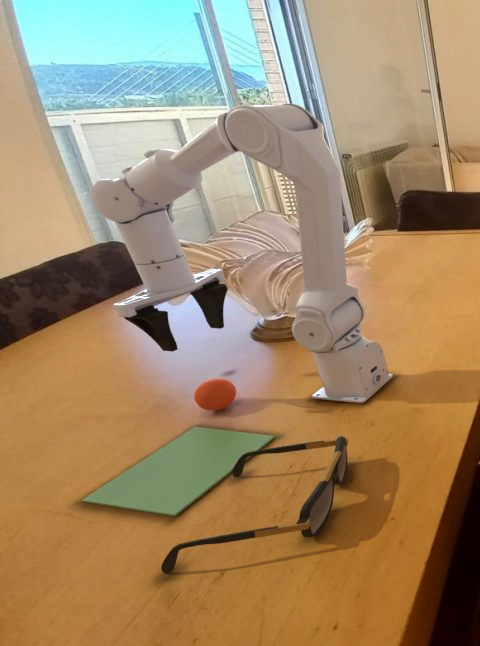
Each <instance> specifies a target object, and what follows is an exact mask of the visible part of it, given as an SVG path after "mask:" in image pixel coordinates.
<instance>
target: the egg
mask: <svg viewBox="0 0 480 646" xmlns="http://www.w3.org/2000/svg"><path fill="white" fill-rule="evenodd" d="M193 396H194V397H193V398H194V401H195V404H196V405H197V407H199V408H201V409H203V410H206V411H209V412H210V411H211V412H212V411H213V412H214V411H215V412H216V411H220V410H223V409H225V408H227V407H228V406H230V405H231V404H233V402H234V401H235V398H236V396H237V389H236V385H234V383H233V382H232V381H230V380H228V379H226V378H220V377H215V378H210V379H207V380H205V381H203V382H202V383H200V384H199V385H198V387H197V388H196V389H195V391H194V395H193Z"/></svg>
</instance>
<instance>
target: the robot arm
mask: <svg viewBox="0 0 480 646" xmlns="http://www.w3.org/2000/svg"><path fill="white" fill-rule="evenodd" d="M238 152H241V153H242V154H244V155H245V156H247V157H248V158H251V159H252V160H255V161H256V162H258V163H260V164H262V165H264V166H266V167H268V168H270V169H272V170H274V171H276V172H277V173H279V174H281V175H284V176H285V178H287V179H288V180H289V181H291V182H292V183H293V185H294V195H295V204H296V213H297V223H298V234H299V243H300V254H301V262H302V270H303V271H302V272H303V282H304V283H303V284H304V289H303V291H302V293H301V295H300V297H299V299H298V301H297V303H296V305H295V318H294V320H293V322H292V325H291V333H292V336H293V338H294V339H295V341H296V342H297V343H298V344H299V345H300V346H301V347H303V348H304V349H306V350H307V351H308V352H309V353H312V357H313V359H314V363H315V366H316V369H317V372H318V375H319V377H320V381H321V384H322V387H321V388H320V389H318V390H317V391H316V392H314V393H313V394H312V395H311V398H312V399H314V400H323V401H324V400H325V401H336V402H346V403H354V404H363V403H365V402H367V401H368V400H369V399H370V398H371V397H372V396H374V395H375V394H376V393H377V392H378V391H379V390H380V389H381V388H383V386H384V385H386V384H387V383H388V382H389V381H390V380H391V379H392V378H393V377H394V375H393V373H389V369H388V366H387V362H386V358H385V354H384V351H383V348H382V346H381V345H380V344H379V343H378V342H376V341H373V340H371V339H368V338H366V337H364V336H363V334H362V332H361V331H362V326H361V323H362V322H363V320H364V318H365V315H366V313H365V307H364V305H363V303H362V301H361V300H360V298H359V289H358V287H356V286H355V285H352V284H350V283H348V279H347V278H348V277H347V264H346V248H345V247H346V246H345V232H344V231H345V230H344V213H343V199H342V184H341V172H340V168H339V166H338V163H337V162H336V160H335V157H334V155H333V153H332V152H331V149H330V148H329V146H328V144H327V142H326V139H325V129H324V124H323V123H322V122H321V121H319V120H318V119H317V118H316V117H315V116H314V115H313V114H312V113H311V112H310V111H308V110H307V109H306V108H305V107H303V106H301V105H299V104H296V103H283V104H273V105H272V104H271V105H250V104H249V105H248V104H240V105H236V106H234V107H232V108H231V109H229V110H228V112H224V113H221V114H219V115H217V116H216V120H215V121H214V122H213V123H211V124H210V125H209V126H207V127H206V128H205V129H204V130H202V131H201V132H199V134H197V135H196V136H195V137H193V138H192V139H191V140H189V142H187V143H186V144H184V145H183V146H182V147H181V148H179V149H178V150H174V149H167V148H165V149H159V148H157V149H149V150H147V151H146V152H144V153H143V156H144V157H145V159H144V160H142V161H141V162H139V163H138V164H136V165H135V166H129V167H125V168H123V169H122V170H121V173H122V174H121V175H120V176H119V177H118V178H115V179H110V178H105V179H99V180H96V182H95V183H94V184H93V186H91V189H90V193H89V194H90V200H91V203H92V204H93V205H92V206H94V208H95V209H96V211H97V212H98V213H99V214H100V215H102V216H103V217H104V218H106V219H107V220H109V221H112V222H114V223H115V226H116V227H117V229H118V232H119V234H120V236H121V238H122V241H123V243H124V245H125V247H126V249H127V252H128V253H129V256H130V258H131V260H132V262H133V264H134V266H135V268H136V270H137V273H138V275H139V277H140V279H141V281H142V283H143V286H144V288H145V289H143V290H142V291H140V292H138V293H135V294H134V295H132V296H130V297H128V298H126V299H123V300H121V301H119V302H116V303H113V304H112V306H113V308H114V310H115V312H116V313H117V316H118V317H120V318H123V319H124V320H125V321H128V322H129V323H131V324H132V325H134V326H135V327H137V328H139V329H140V330H141V331H143V332H144V333H145V334H147V335H148V336H149V338H151V339H152V340H153V341H154V342H155V343H156V344H157V346H159V348H160V349H161V350H162V351H163V352H175V351H178V350H179V347H178V344H177V341H176V339H175V337H174V335H173V333H172V330H171V326H170V323H169V321H170V320H169V312H168V311H167V310H159V308H158V307H156V306H158V305H161V304H164V303H166V302H169V301H172V300H175V299H177V298H180V297H182V296H184V295H187V294H190V295H191V296H192V298H193V299H194V301H196V303H197V305H198V307H199V309H201V311H202V314H203V316H204V318H205V320H206V323H207V324H208V326H209V327H210V329H218V330H221V329H223V328H224V327H225V320H224V307H225V305H224V304H225V299H226V296H227V293H228V290H229V288H228V286H227V284H225V283H223V282H225V281H226V278H225V275H224V272H223V270H222V269H213V268H212V269H209V270H206V271H202V272H198V273H195V274H194V273H193V271H192V268H191V266H190V263H189V262H188V258H187V256H186V254H185V251H184V250H183V247H182V244H181V242H180V239H179V238H178V235H177V232H176V230H175V227H174V225H173V223H174V220H175V218H174V215H173V206H174V202H175V201H176V200H178V199H180V198H182V197H183V196H185V195H186V194H187V193H189V192H191V191H192V190H194V189H195V188H197V187H198V186H200V185H201V183H202V181H203V172H204V171H205V170H206V169H209V168H210V167H212V166H214V165H215V164H216V165H217V163H220V162H221V161H223V160H225V159H226V158H229V157H230V156H231V155H234V154H235V153H238ZM155 307H156V308H155Z"/></svg>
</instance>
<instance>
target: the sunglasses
mask: <svg viewBox="0 0 480 646" xmlns="http://www.w3.org/2000/svg"><path fill="white" fill-rule="evenodd" d="M348 444H349V437H346V436H343V435H340V436H337V438H333V439H327V440H326V439H325V440H318V441H310V442H303V443H302V442H301V443H295V444H288V445H282V446H277V447H271V448H270V447H269V448H264V449H263V448H262V449H260V450H257V451H252V452H247V453H245V454H243V455H242V456H241V457H240V458H239V460H238V461H237V463H236V464H235V466H234V468H233V470H232V472H231V474H232V476H233V477H234V478H239V477H241V475H242V474H243V472H244V468H245V464H246V461H247V460H246V458H247V457H249V456H251V457H254V456H259V455H267V454H269V455H270V454H283V453H291V452H299V451H305V450H306V451H307V450H313V449H314V450H315V449H321V448H328V447H334V451H333V455H332V456H331V459H330V461H329V462H328V464H327V466H326V468H325V471H324V473H323V475H322V477H321V479H320V481H319V482H318V483H317V485H316V486H315V488H314V489H313V491H312V492H311V493H310V495H309V496H308V498H307V499H306V500H305V502H304V503H303V505H302V507H301V508H300V511H299V516H298V520H297V521H296V522H295V523H289V524H288V523H287V524H282V525H275V526H269V527H263V528H256V529H251V530H246V531H245V530H244V531H239V532H234V533H233V532H232V533H227V534H223V535H222V534H221V535H217V536H212V537H206V538H200V539H196V540H191V541H186V542H182V543H178V544H176V545H174V546H173V547H172V548H171V549H170V550H169V552H168V553H167V555H166V556H165V557H164V560H163V562H162V564H161V567H160V569H161V572H162V573H163V574H165V575H169V574H171V573H173V571H174V570H175V567H176V564H177V559H178V555H179V552H180V551H181V550H183V549H187V548H192V547H193V548H194V547H198V546H205V545H206V546H207V545H218V544H227V543H233V542H238V541H244V540H249V539H257V538H264V537H268V536H269V537H270V536H275V535H276V536H277V535H282V534H287V533H294V532H298V531H300V532H301V535H302V537H303V538H314V537H315V536H318V534H319V533H320V532H321V530H323V528H324V526H325V524H326V523H327V521H328V519H329V517H330V514H331V512H332V508H333V504H334V496H335V487H336V486H337V485H343V484H344V482H345V480H346V476H347V471H348V449H347V446H348ZM245 460H246V461H245Z"/></svg>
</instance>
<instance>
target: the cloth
mask: <svg viewBox="0 0 480 646" xmlns="http://www.w3.org/2000/svg"><path fill="white" fill-rule="evenodd" d="M275 438H276V436H275V435H268V434H261V433H253V432H252V433H251V432H244V431H234V430H226V429H219V428H218V429H217V428H210V427H209V428H208V427H200V426H194V427H192V428H190V429H189V430H187V431H186V432H184V433H183V434H181V435H179V436H178V437H177V438H175V439H173V440H172V441H170V442H169V443H167V444H166V445H164V446H163V447H161V448H159V449H158V450H156V451H155V452H153V453H152V454H151V455H149V456H147V457H146V458H144V459H142V460H141V461H139V462H138V463H137V464H135V465H133V466H132V467H130V468H128V469H127V470H125V471H124V472H122V473H120V474H119V475H118V476H116V477H115V478H113V479H111V480H110V481H109V482H107V483H106V484H104V485H102V486H100V487H99V488H98V489H96V490H94V491H93V492H92V493H90V494H89V495H87V496H86V497H84V498H82V499H81V502H82V503H87V504H93V505H99V506H106V507H113V508H120V509H125V510H131V511H139V512H142V513H143V512H144V513H149V514H150V513H151V514H157V515H163V516H170V517H177V516H178V515H180V514H181V513H182V512H183V511H184V510H186V509H187V508H189V506H191V505H192V504H194V503H195V502H196V501H197V500H198V499H199V498H200V497H202V496H204V495H205V494H206V493H207V492H208V491H210V490H211V489H212V488H214V487H215V486H216V485H218V484H219V483H220V482H221V481H222V480H224V479H226V477H228V476H229V475H230V474H232V470H233V468H234V466H235V464H236V463H237V461H238V460H239V458H240V457H241V456H242V455H243V454H245V453H247V452H252V451H257V450H262V449H263V448H264V447H265V446H266V445H268V444H269V443H270V442H272V441H273V440H274V439H275ZM251 457H252V456H249V457H247V458H246V460H245V462H246V461H248V460H249V459H250V458H251Z"/></svg>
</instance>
